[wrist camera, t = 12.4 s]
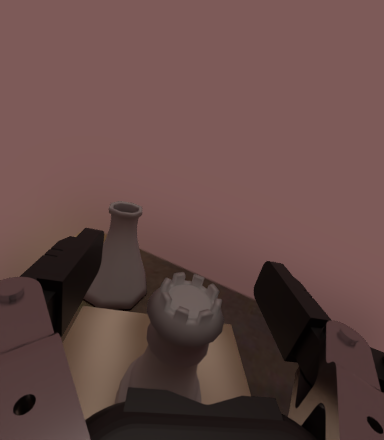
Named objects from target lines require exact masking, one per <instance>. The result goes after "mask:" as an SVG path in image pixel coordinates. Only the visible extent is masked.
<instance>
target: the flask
mask: <svg viewBox="0 0 384 440" xmlns="http://www.w3.org/2000/svg"><path fill="white" fill-rule="evenodd" d="M109 213H110V214H111V225H110V229H109V232H108V235H107V238H106V240H105V242H104V244H103V251H102V261H101V266H100V269H99V272H98V274H97V276H96V277H95V279H94V281H93V283H92V284H91V286H90V288H89V290H88V291H87V293H86V295H85V297H84V298H83V299H85V300H86V301H88V302H90V303H91V304H93V305H95V306H96V307H98V308H104V309H131V308H132V307H133V306H134V305H135V304H136V303H137V302H138V301H139V300H140V299H141V298H142V297H144V296H145V295H146V294H147V289H146V275H145V271H144V267H143V263H142V259H141V255H140V250H139V246H138V241H137V223H138V218H139V217H140V216H141V215H142V207H141V206H139V205H136V204H134V203H129V202H122V201H118V202H114V203H111V204H110V207H109Z"/></svg>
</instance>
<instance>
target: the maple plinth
mask: <svg viewBox="0 0 384 440" xmlns="http://www.w3.org/2000/svg"><path fill="white" fill-rule="evenodd" d="M149 324H150V319H149V317H148V314H143V313H135V312H127V311H119V310H112V309H104V308H96V307H88V306H83V307H82V309H81V311H80V313H79V314H78V316H77V318H76V320H75V322H74V324H73V325H72V327H71V329H70V331H69V333H68V335H67V336H66V338H65V340H64V342H63V347H64V351H65V354H66V358H67V361H68V364H69V368H70V371H71V375H72V378H73V381H74V385H75V388H76V392H77V395H78V398H79V402H80V405H81V408H82V412H83V415H84V419H85V420H86V419H87V418H89V417H90V416H92V415H93V414H95V413H96V412H98V411H100V410H102V409H104V408H106V407H108V406H111V405H113V404H115V399H116V394H117V391H118V389H119V385H120V381H121V380H122V378H123V376H124V374H125V373H126V371H127V369H128V368H129V366H130V365H131V363H132V362H134V361H135V360H136V359H137V358H139V357H140V356H141V355H142V354H144V353H145V350H146V348H147V346H148V342H147V339H146V337H147V328H148V326H149ZM197 377H198V379H199V383H200V391H201V403H202V404H205V405H210V404H214V403H217V402H221V401H225V400H228V399H232V398H235V397H239V396H251V394H250V391H249V387H248V384H247V380H246V377H245V373H244V369H243V366H242V362H241V359H240V355H239V352H238V348H237V344H236V341H235V337H234V334H233V330H232V327H231V325H229V324H223V330H222V333H221V334H220V335H219V336H218V337H217V338H216V339H215V340H214V342H211V343H209V347H208V351H207V355H206V356H205V357H204V358H203V359H202V360H201V362H200V363H199V364H198V366H197Z"/></svg>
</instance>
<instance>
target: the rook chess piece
mask: <svg viewBox="0 0 384 440" xmlns="http://www.w3.org/2000/svg"><path fill="white" fill-rule="evenodd" d="M203 280H204V277H202V276H200V275H197V274H194V276H193V280H192V281H185V274H184V272H180V273H174V276H173V279H172V280H170V279H169V278H167V277H166V278H165V280H164V281H163V282H162V284H161V288H159V289H157V290H155V291H154V293H153V294H152V295H151V297H150V298H149V300H148V306H147V314H148V317H149V319H150V324H149V326H148V328H147V337H146V339H147V342H148V346H147V348H146V350H145V353H144V354H142V355H141V356H140V357H139V358H137V359H136V360H135V361H134V362H132V363H131V365H130V366H129V368H128V369H127V371H126V373H125V374H124V376H123V378H122V380H121V381H120V385H119V389H118V391H117V394H116V399H115V404H116V403H120V402H124V401H125V400H126V395H127V390H128V387H133V388H146V389H160V390H168V391H171V392H174V393H176V394H179V395H181V396H184V397H187V398H189V399H192V400H194V401H197V402H199V403H201V391H200V383H199V379H198V377H197V366H198V364H199V363H200V362H201V360H202V359H203V358H204V357H205V356H206V355H207V351H208V347H209V343H211V342H214V340H215V339H216V338H217V337H218V336H219V335H220V334H221V333H222V330H223V324H224V317H223V314H222V311H221V303H222V300H221V299H217V297H218V294H219V290H218V289H217V288H216V286H215V285H214V284H211V285H209V286H208V289H206V288H205V287H203V286H202V283H203Z"/></svg>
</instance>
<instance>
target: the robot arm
mask: <svg viewBox="0 0 384 440" xmlns="http://www.w3.org/2000/svg"><path fill="white" fill-rule="evenodd" d="M103 241H104V232H103V231H100V230H95V229H90V228H85V229H84V230H83V231H82V232H81V233H80V234H79V235H78V236H77V237H71V236H70V237H67V238H65V239H63V240H60V241H58V242H57V243H56V244H55V245H54V246H53V247H52V248H51V249H50V250H48V251H47V252H46V253H45V255H43V256H42V257H41V258H40V259H39V260H38V261H36V262H35V263H34V264H33V265H32V266H31V267H30V268H29V269H28V270H26V271H25V272H24V273H23V274H22V275H21V276H20V277H13V278H7V279H3V280H0V440H384V353H383V352H381V351H378V350H376V349H373V348H371V347H370V346H369V345H368V343H367V342H366V340H365V339H364V338H363V337H362V336H361V335H359V333H357V332H356V331H355V330H353V329H352V328H350V327H348V326H347V325H345V324H343V323H341V322H338V321H332V320H331V319H330V318H329V317H328V315H327V314H326V313H325V312H324V311H323V310H322V308H321V307H320V306H319V305H318V303H317V302H316V301H315V300H314V299H313V298H312V296H311V295H310V294H309V293H308V292H307V290H306V289H305V288H304V286H303V285H302V284H301V283H300V282H299V281H298V280H297V279H295V278H294V277H293V276H292V275H291V273H290V272H289V271H288V270H287V268H286V267H285V266H284V265H283V264H281V263H276V262H270V261H267V262H265V264H264V265H263V267H262V270H261V272H260V274H259V277H258V279H257V281H256V284H255V286H254V296H255V299H256V301H257V304H258V306H259V308H260V310H261V312H262V314H263V316H264V318H265V321H266V323H267V325H268V327H269V329H270V331H271V333H272V335H273V338H274V340H275V342H276V344H277V346H278V348H279V350H280V352H281V355H282V357H283V359H284V361H289V362H298V364H299V367H298V369H297V370H296V373H295V379H294V385H293V392H292V398H291V404H290V410H289V415H288V417H287V416H285V415H283V414H281V412H280V410H279V407H278V404H277V401H276V399H275V398H267V397H254V396H239V397H235V398H232V399H228V400H225V401H221V402H217V403H214V404H210V405H205V404H202V403H199V402H197V401H194V400H192V399H189V398H187V397H184V396H181V395H179V394H176V393H174V392H171V391H168V390H160V389H146V388H133V387H128V390H127V395H126V400H125V401H124V402H120V403H116V404H113V405H111V406H108V407H106V408H104V409H102V410H100V411H98V412H96V413H95V414H93V415H92V416H90V417H89V418H87V419H86V420H85V419H84V415H83V412H82V408H81V405H80V402H79V398H78V395H77V392H76V388H75V385H74V381H73V378H72V375H71V371H70V368H69V364H68V361H67V358H66V354H65V351H64V347H63V344H62V341H61V337H62V335H63V334H64V332H65V330H66V328H67V327H68V325H69V323H70V321H71V319H72V318H73V316H74V314H75V312H76V311H77V309H78V307H79V305H80V304H81V302H82V300H83V298H84V297H85V295H86V293H87V291H88V290H89V288H90V286H91V284H92V283H93V281H94V279H95V277H96V276H97V274H98V272H99V269H100V266H101V261H102V251H103Z"/></svg>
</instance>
